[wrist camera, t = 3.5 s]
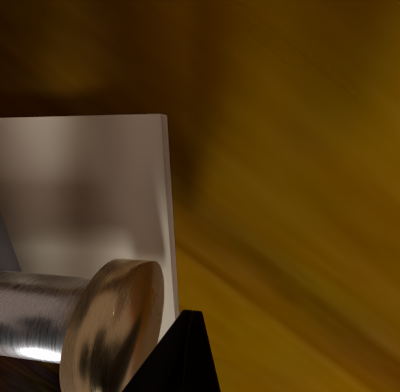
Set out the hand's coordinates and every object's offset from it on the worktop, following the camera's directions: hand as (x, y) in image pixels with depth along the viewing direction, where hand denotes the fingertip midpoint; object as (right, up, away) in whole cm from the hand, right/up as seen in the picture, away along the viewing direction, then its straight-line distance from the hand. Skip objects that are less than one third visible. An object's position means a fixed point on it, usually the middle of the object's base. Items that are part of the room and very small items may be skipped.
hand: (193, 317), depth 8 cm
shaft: (-8, +1, +3) cm, 8 cm away
